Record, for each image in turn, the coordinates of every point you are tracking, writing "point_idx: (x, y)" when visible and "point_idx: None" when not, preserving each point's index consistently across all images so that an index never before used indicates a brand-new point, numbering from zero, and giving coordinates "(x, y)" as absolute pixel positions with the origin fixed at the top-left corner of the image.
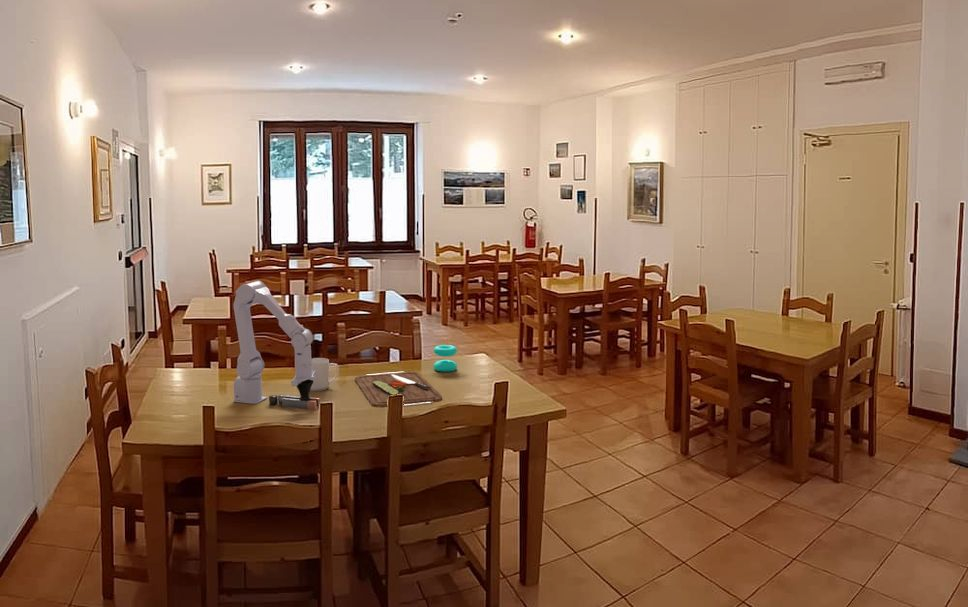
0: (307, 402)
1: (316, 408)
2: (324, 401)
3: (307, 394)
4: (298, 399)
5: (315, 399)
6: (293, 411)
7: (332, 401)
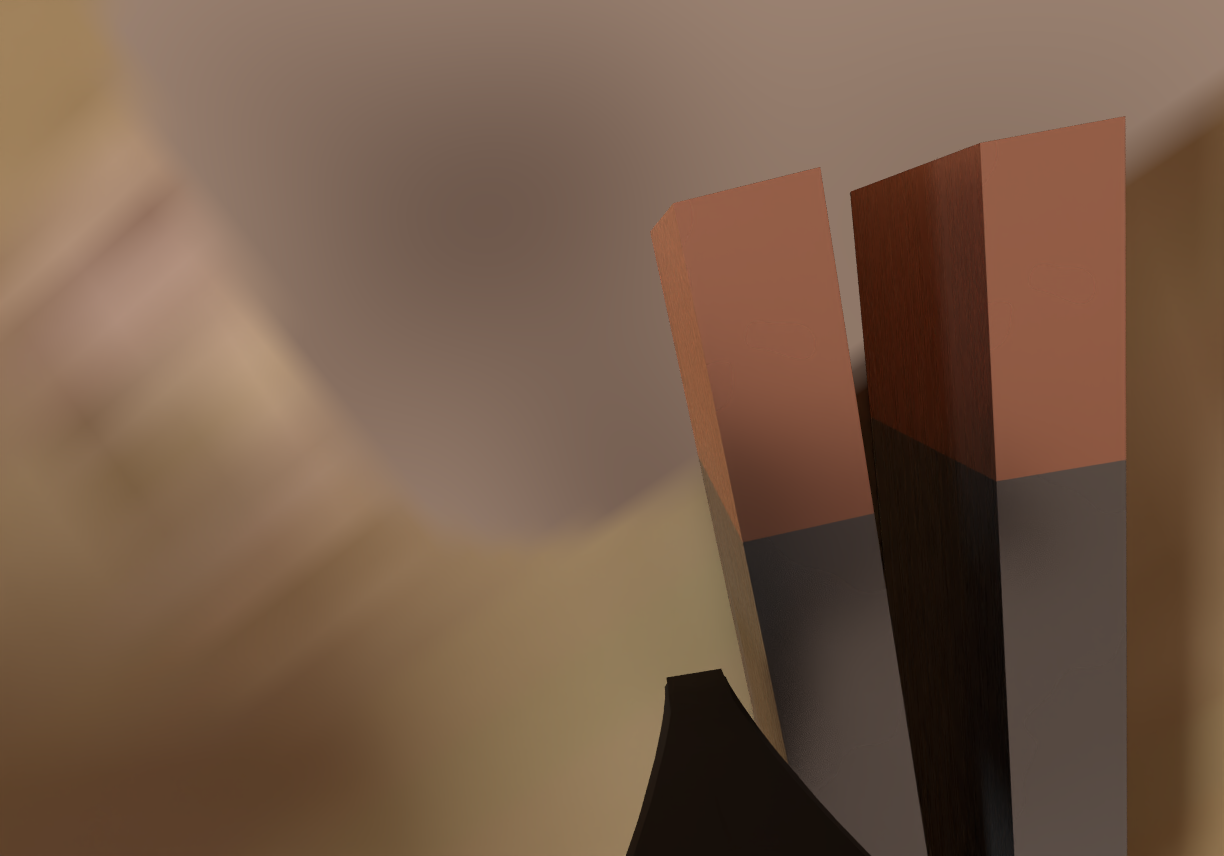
0: (1094, 436)
1: (866, 187)
2: (209, 434)
3: (805, 785)
4: (1029, 831)
5: (831, 303)
6: (1197, 596)
7: (79, 240)
